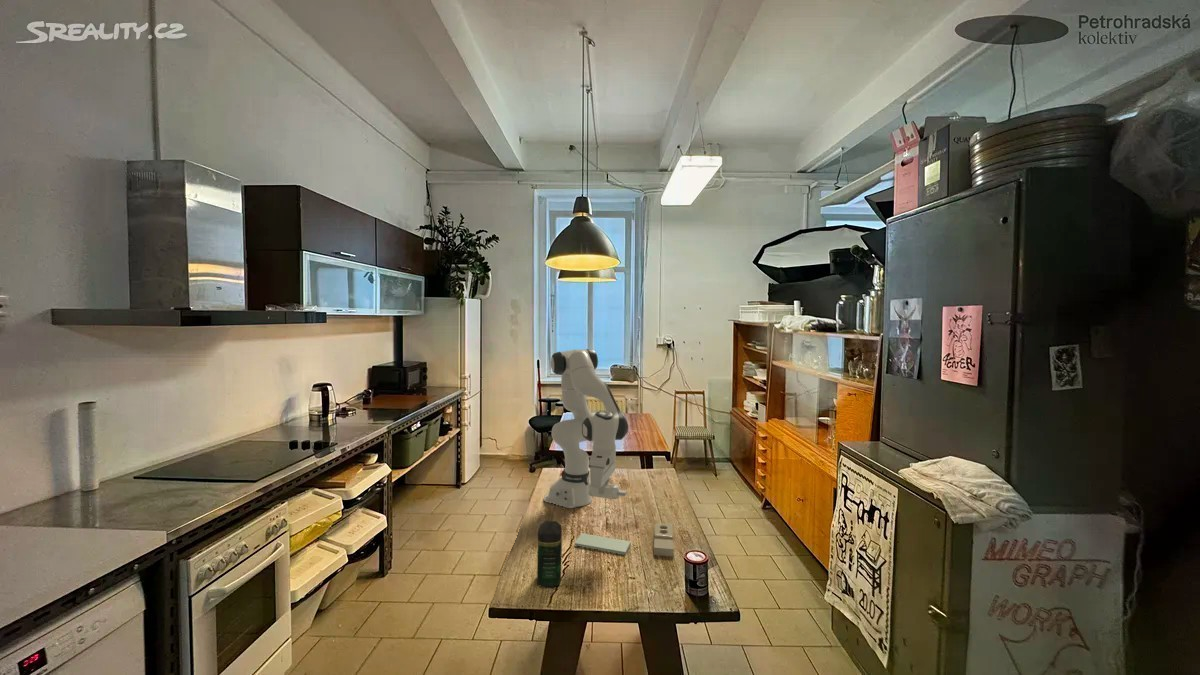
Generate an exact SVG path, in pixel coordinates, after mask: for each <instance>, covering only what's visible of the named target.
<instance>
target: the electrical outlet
mask: <svg viewBox="0 0 1200 675" xmlns="http://www.w3.org/2000/svg"><path fill="white" fill-rule="evenodd" d="M673 526H674V525H673V524H672V523H662V522H661V523H659V522H658V523H657V522H655V523H654V534H653V535H654V536H653V539H654V540H653V555H654V556H665V557H674V554H675V553H674V552H675V547H674V530H673V529H674V528H673Z"/></svg>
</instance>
